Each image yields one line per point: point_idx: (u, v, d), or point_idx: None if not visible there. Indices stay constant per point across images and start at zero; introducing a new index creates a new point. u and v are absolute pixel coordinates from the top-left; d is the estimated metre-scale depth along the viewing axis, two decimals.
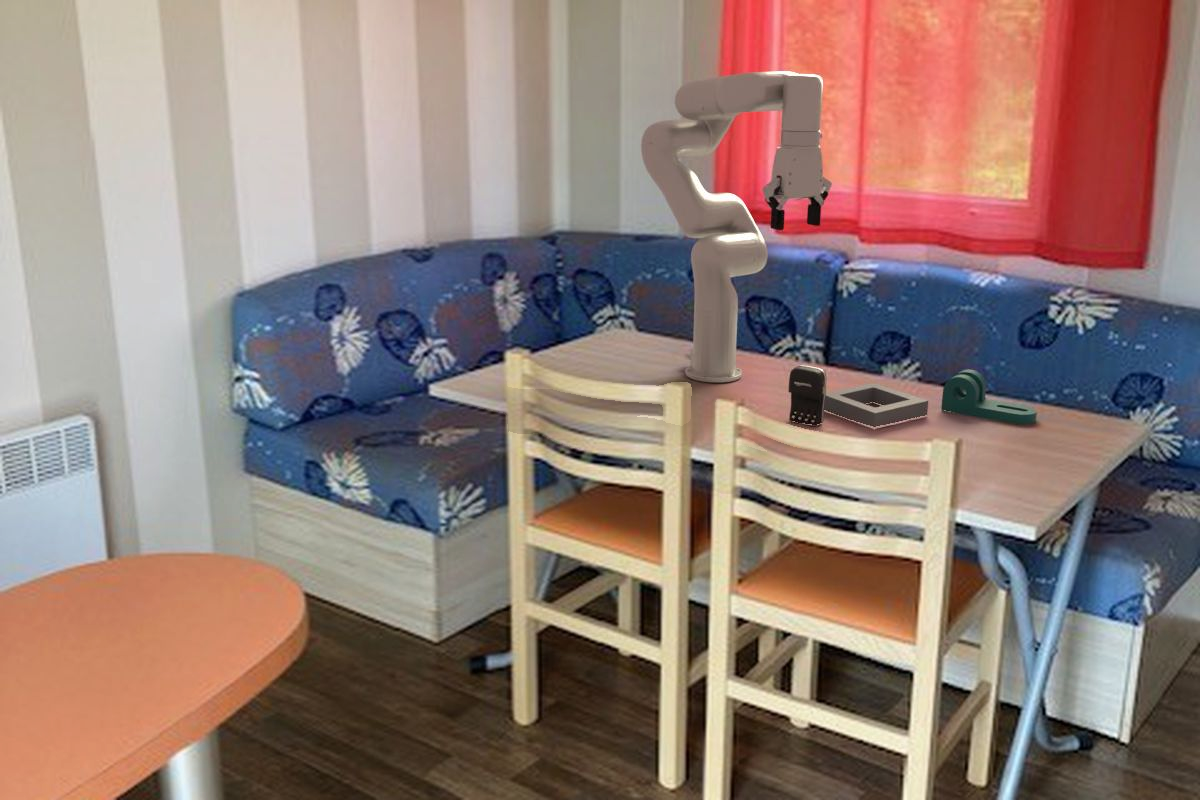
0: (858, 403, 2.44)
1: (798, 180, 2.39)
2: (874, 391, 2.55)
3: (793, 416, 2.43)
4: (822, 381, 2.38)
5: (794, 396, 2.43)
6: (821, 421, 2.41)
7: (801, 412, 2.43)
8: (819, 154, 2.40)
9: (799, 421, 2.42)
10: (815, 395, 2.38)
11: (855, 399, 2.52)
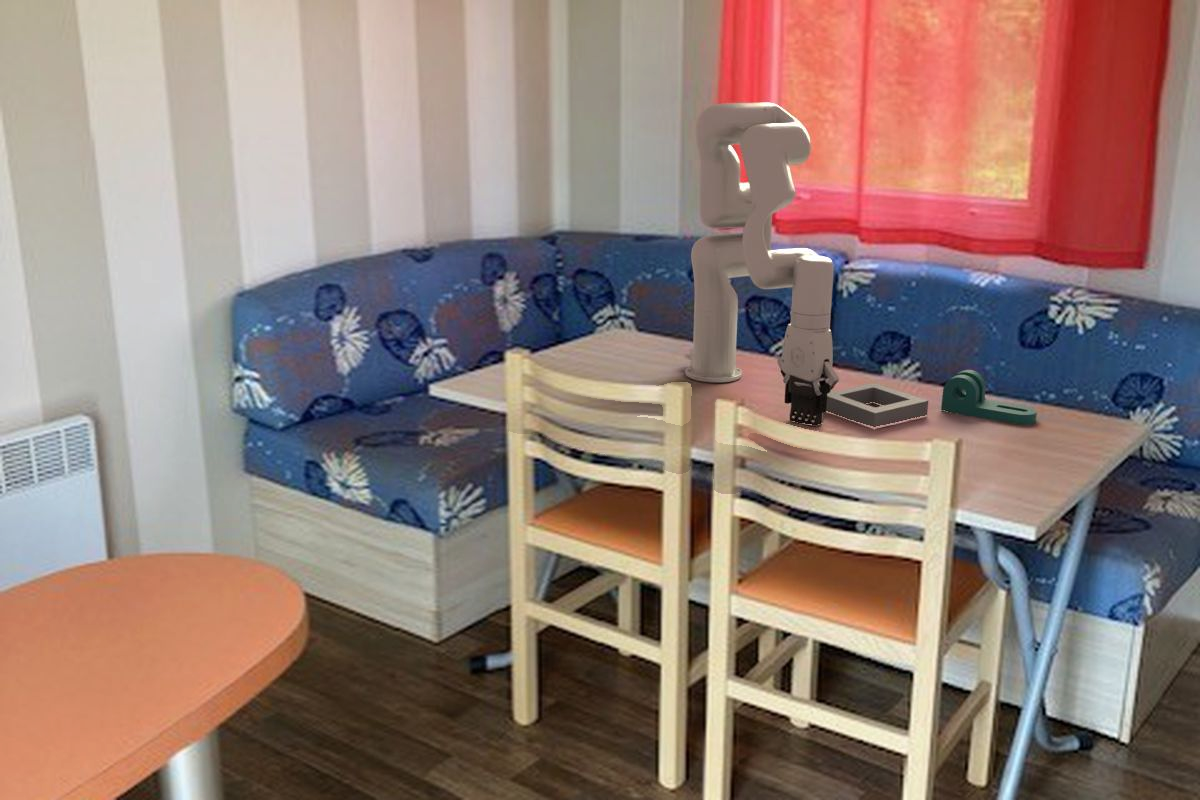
0: (858, 403, 2.44)
1: None
2: (874, 391, 2.55)
3: (793, 416, 2.43)
4: None
5: (794, 396, 2.43)
6: (821, 421, 2.41)
7: (801, 412, 2.43)
8: None
9: (799, 421, 2.42)
10: None
11: (855, 399, 2.52)
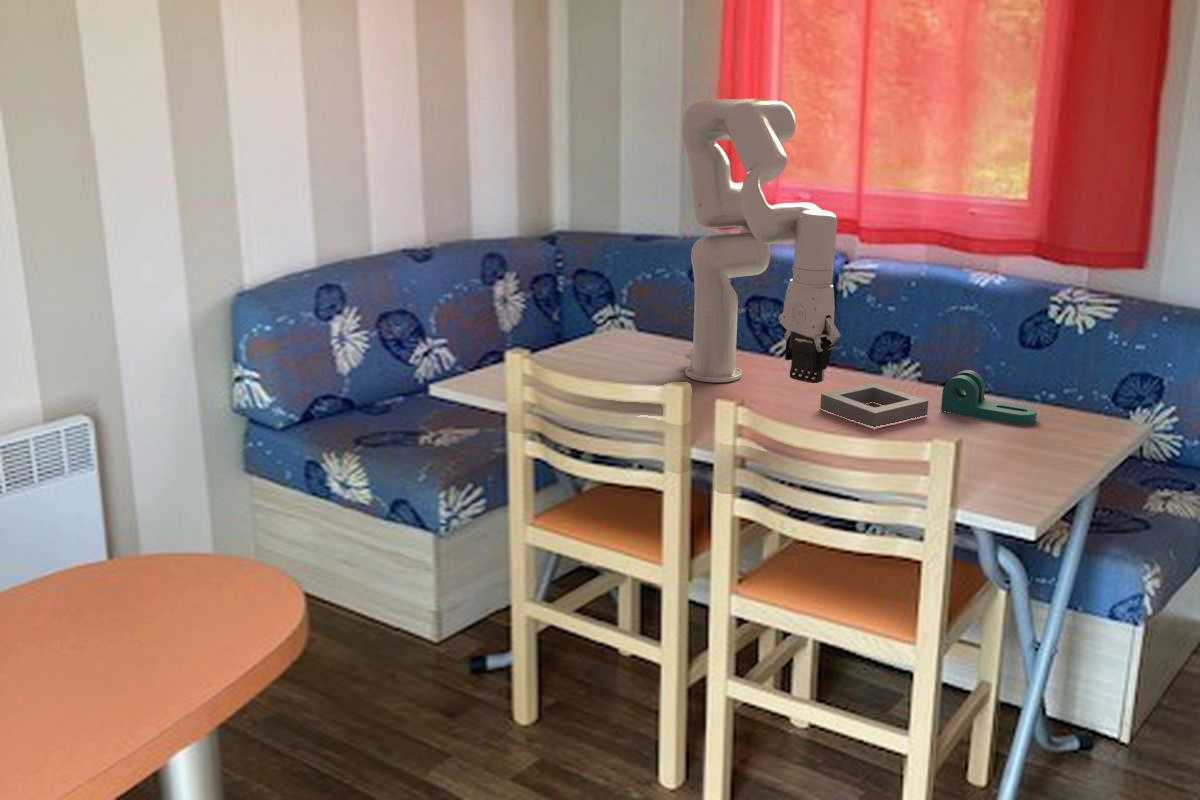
0: (858, 403, 2.44)
1: None
2: (874, 391, 2.55)
3: (793, 373, 2.41)
4: None
5: (795, 353, 2.41)
6: (822, 378, 2.39)
7: (802, 369, 2.41)
8: None
9: (799, 378, 2.40)
10: None
11: (855, 399, 2.52)
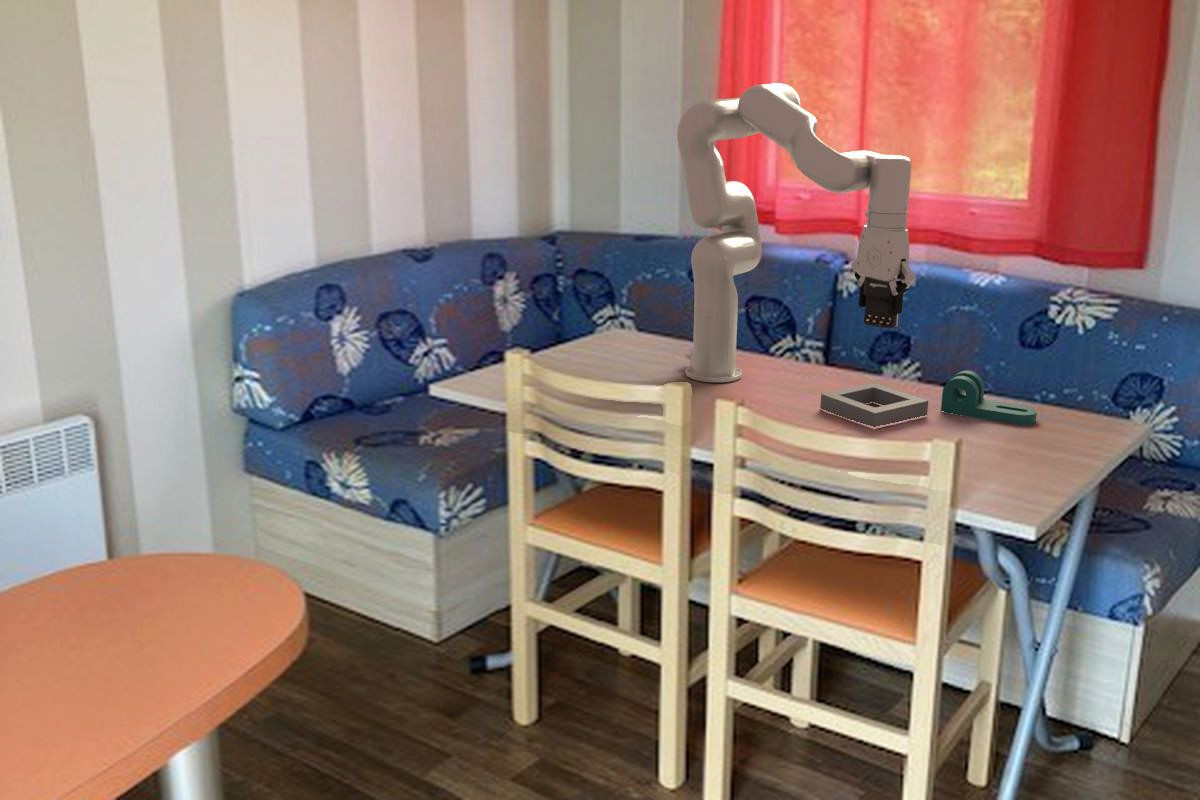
0: (858, 403, 2.44)
1: None
2: (874, 391, 2.55)
3: (867, 319, 2.44)
4: None
5: (869, 299, 2.43)
6: (896, 323, 2.42)
7: (876, 315, 2.43)
8: None
9: (874, 323, 2.42)
10: None
11: (855, 399, 2.52)
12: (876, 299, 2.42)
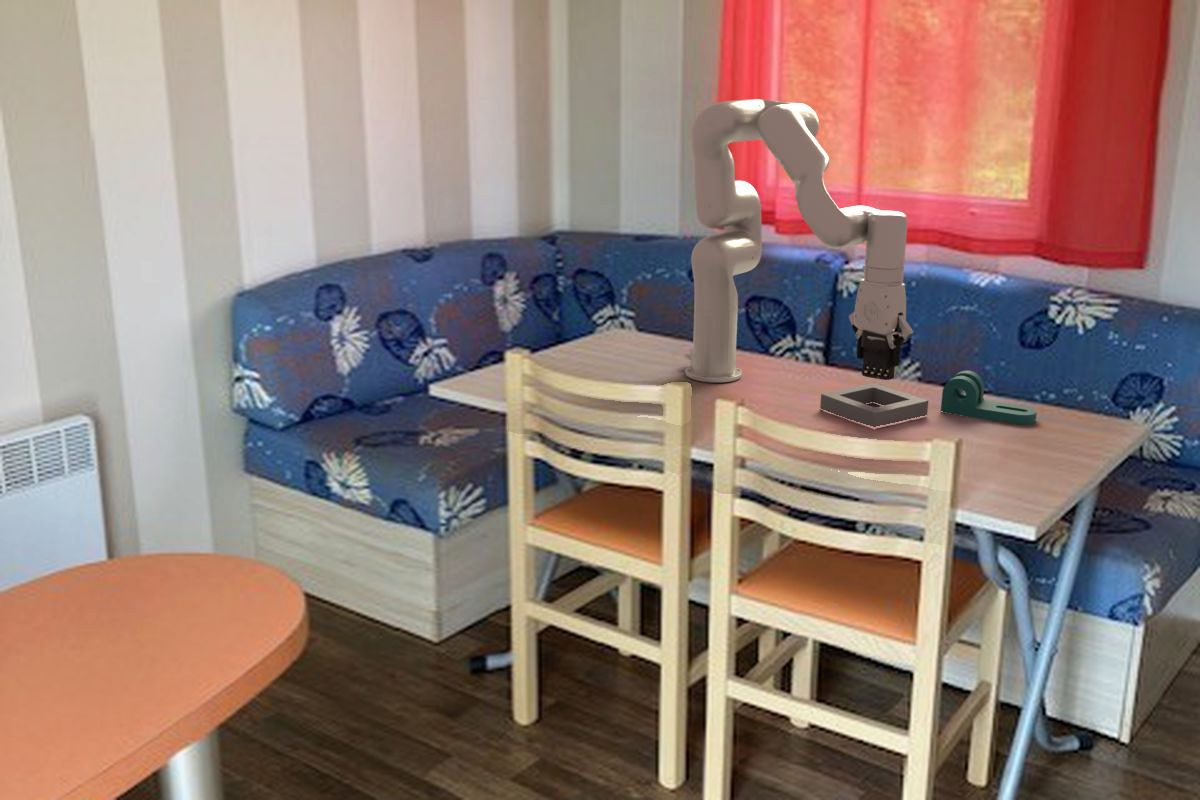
0: (858, 403, 2.44)
1: None
2: (874, 391, 2.55)
3: (865, 371, 2.47)
4: None
5: (866, 351, 2.46)
6: (894, 375, 2.45)
7: (873, 367, 2.46)
8: None
9: (872, 375, 2.46)
10: None
11: (855, 399, 2.52)
12: (874, 351, 2.45)
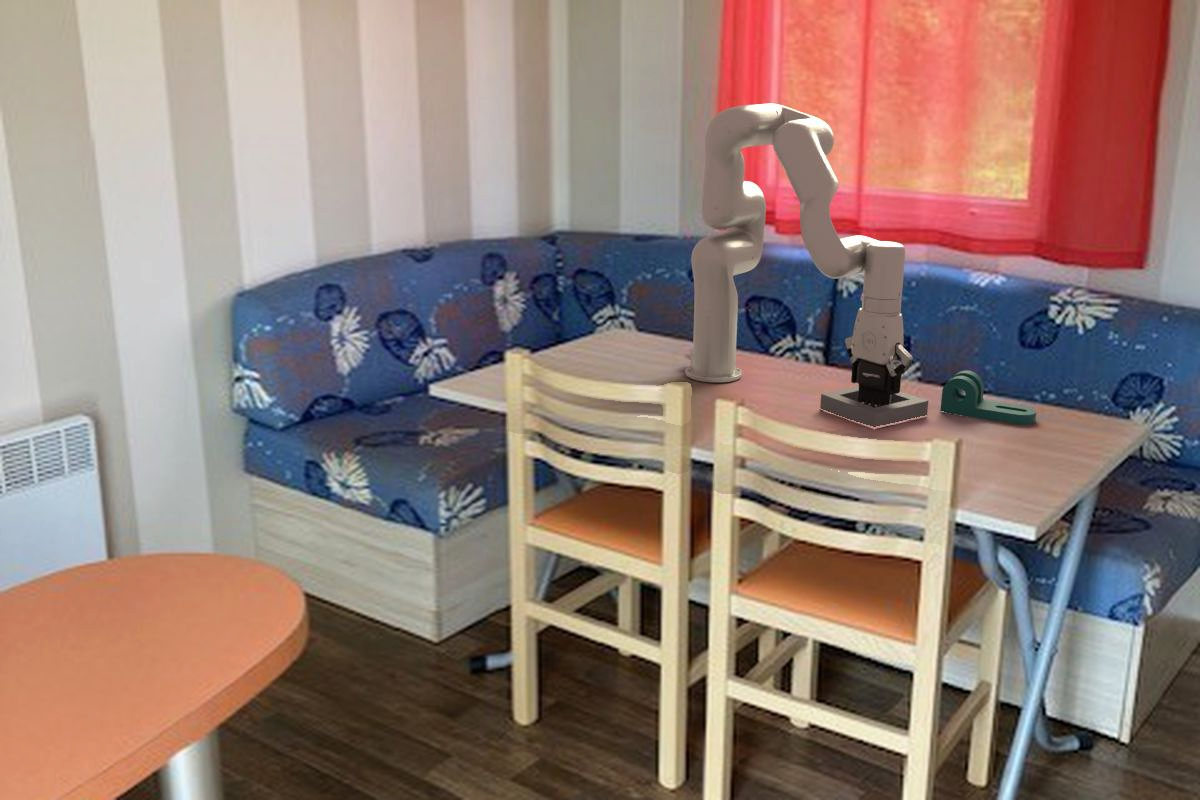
0: (858, 403, 2.44)
1: None
2: None
3: None
4: None
5: (862, 387, 2.49)
6: None
7: (869, 402, 2.49)
8: None
9: None
10: (883, 386, 2.44)
11: (855, 399, 2.52)
12: (869, 387, 2.48)
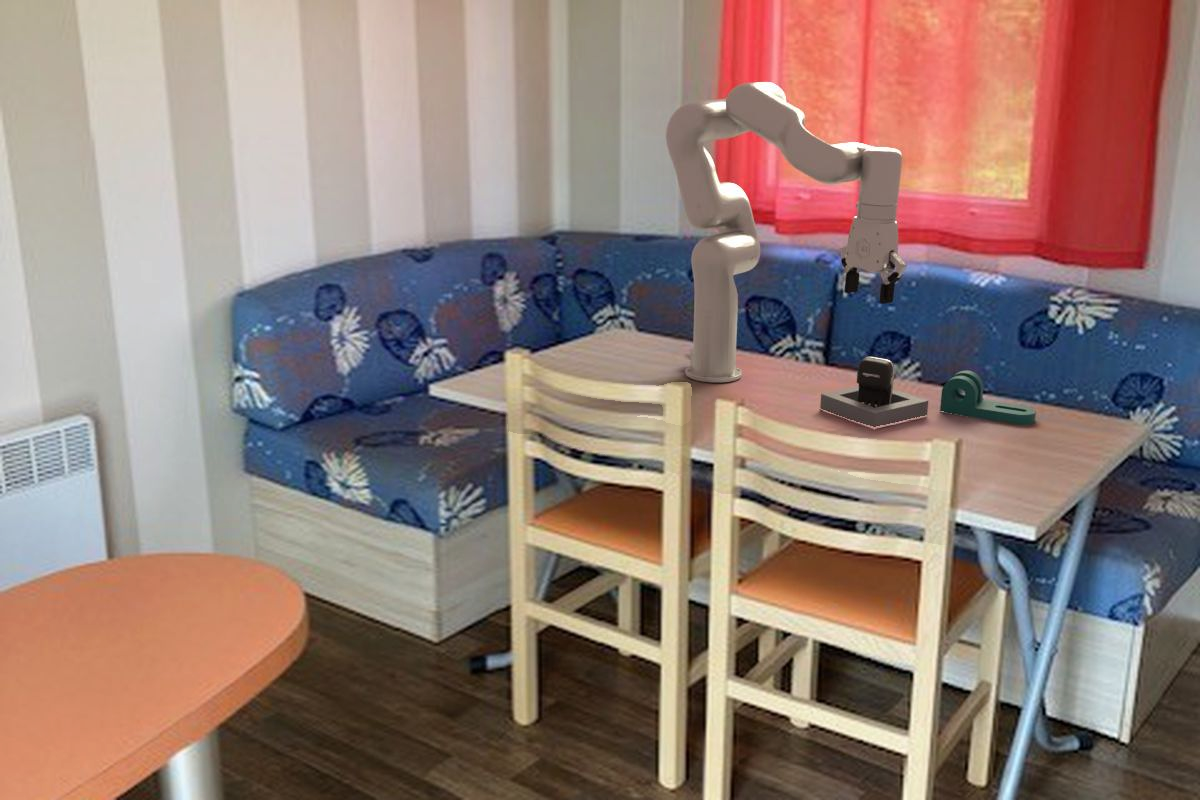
0: (858, 403, 2.44)
1: None
2: None
3: None
4: (890, 372, 2.44)
5: (862, 387, 2.49)
6: None
7: (869, 402, 2.49)
8: None
9: None
10: (883, 386, 2.44)
11: (855, 399, 2.52)
12: (869, 387, 2.48)
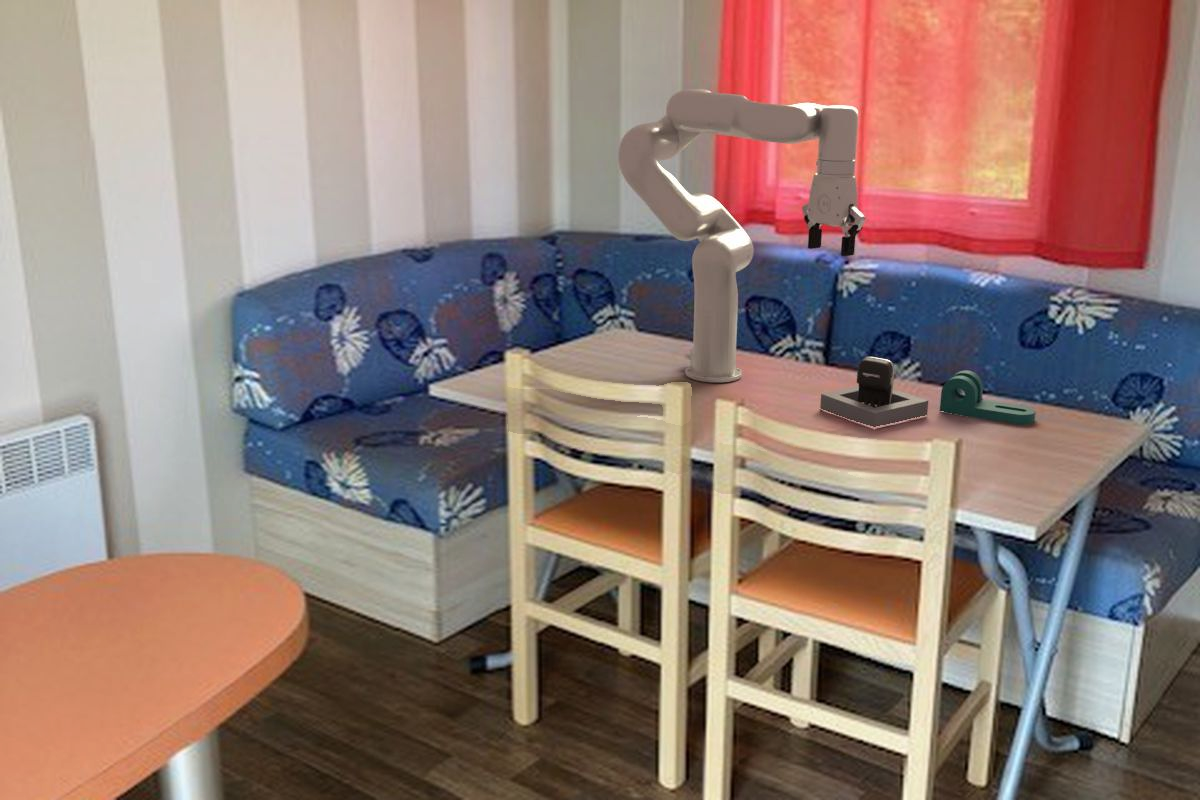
0: (858, 403, 2.44)
1: None
2: None
3: None
4: (890, 372, 2.44)
5: (862, 387, 2.49)
6: None
7: (869, 402, 2.49)
8: None
9: None
10: (883, 386, 2.44)
11: (855, 399, 2.52)
12: (869, 387, 2.48)
